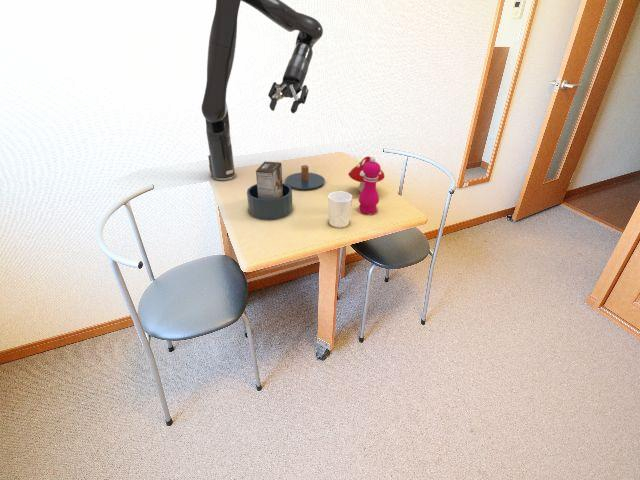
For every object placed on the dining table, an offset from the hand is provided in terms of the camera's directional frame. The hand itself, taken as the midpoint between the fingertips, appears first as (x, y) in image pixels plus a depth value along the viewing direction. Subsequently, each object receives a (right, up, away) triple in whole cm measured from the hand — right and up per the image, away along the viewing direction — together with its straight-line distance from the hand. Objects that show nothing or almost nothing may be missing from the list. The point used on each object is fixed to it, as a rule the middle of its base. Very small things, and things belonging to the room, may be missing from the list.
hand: (281, 110), depth 127 cm
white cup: (+20, -41, -6) cm, 46 cm away
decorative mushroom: (+32, -28, +15) cm, 44 cm away
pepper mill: (+31, -36, +2) cm, 47 cm away
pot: (-4, -35, +2) cm, 36 cm away
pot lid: (+7, -22, +22) cm, 32 cm away
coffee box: (-4, -35, +2) cm, 35 cm away
